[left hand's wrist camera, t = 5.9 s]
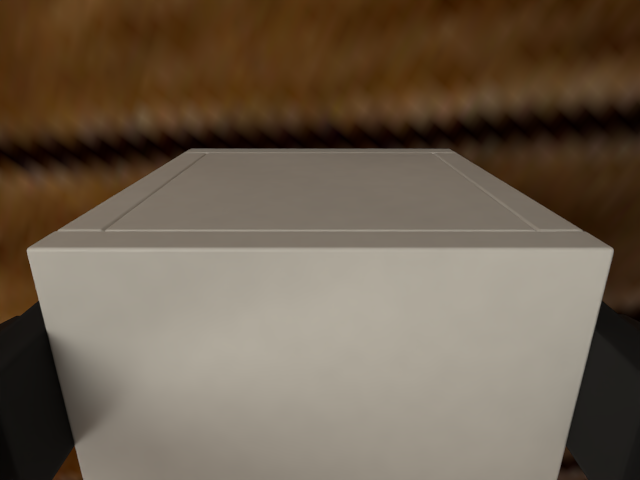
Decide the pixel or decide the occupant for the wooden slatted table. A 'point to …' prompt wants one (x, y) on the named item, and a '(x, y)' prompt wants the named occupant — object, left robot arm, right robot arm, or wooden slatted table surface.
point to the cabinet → (320, 320)
